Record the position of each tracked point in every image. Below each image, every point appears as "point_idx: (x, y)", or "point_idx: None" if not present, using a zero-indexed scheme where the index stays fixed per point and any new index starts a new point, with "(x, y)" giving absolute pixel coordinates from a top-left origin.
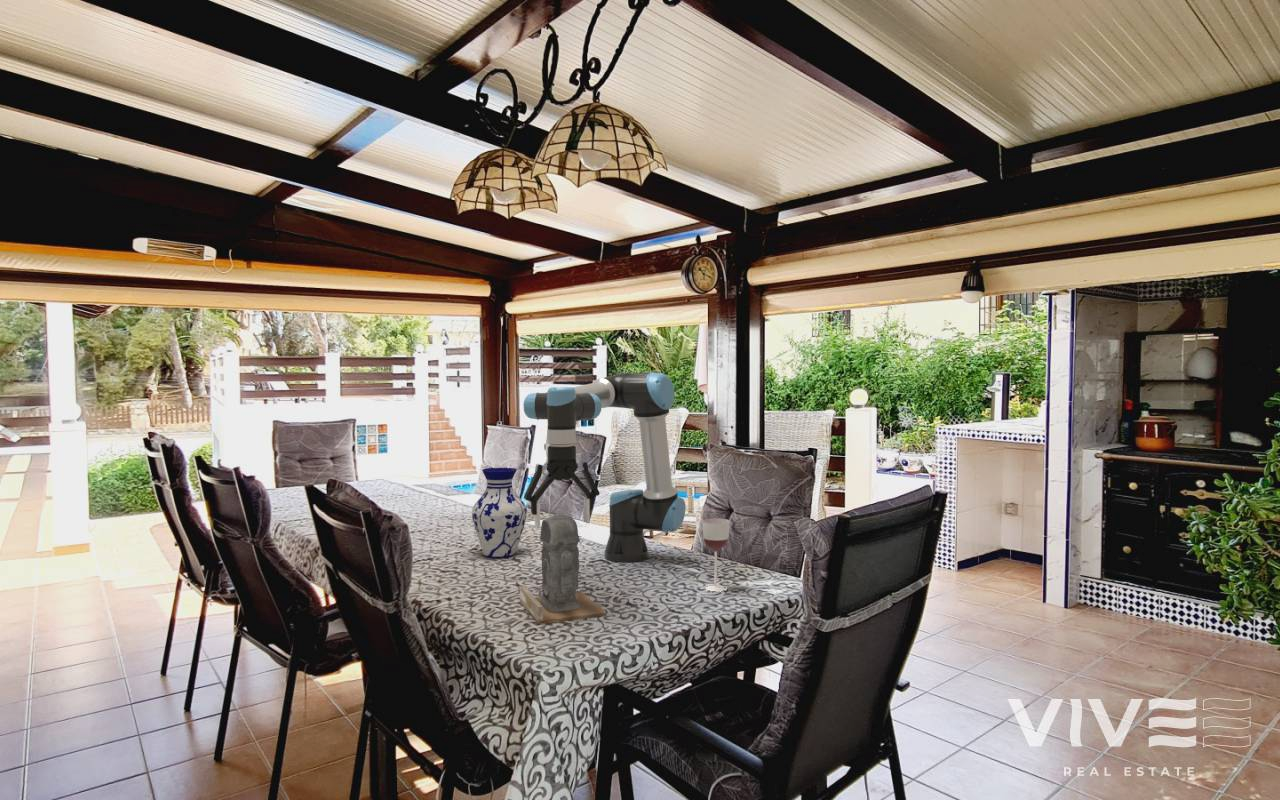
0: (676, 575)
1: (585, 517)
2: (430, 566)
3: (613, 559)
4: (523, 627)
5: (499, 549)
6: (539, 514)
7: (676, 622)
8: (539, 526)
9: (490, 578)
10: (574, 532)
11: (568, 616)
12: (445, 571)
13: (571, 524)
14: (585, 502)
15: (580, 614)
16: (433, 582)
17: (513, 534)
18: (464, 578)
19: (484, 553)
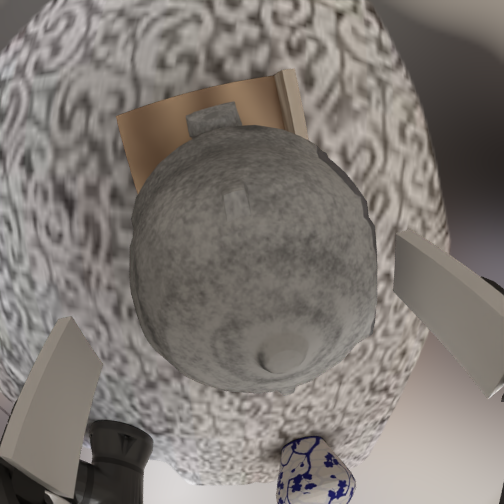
0: (27, 356)
1: (78, 363)
2: (392, 401)
3: (135, 429)
4: (315, 65)
5: (309, 446)
6: (458, 273)
7: (5, 84)
8: (404, 234)
9: (337, 371)
10: (151, 201)
11: (209, 93)
12: (384, 389)
13: (164, 222)
14: (46, 451)
15: (178, 105)
16: (411, 348)
17: (294, 467)
18: (372, 368)
19: (324, 441)
